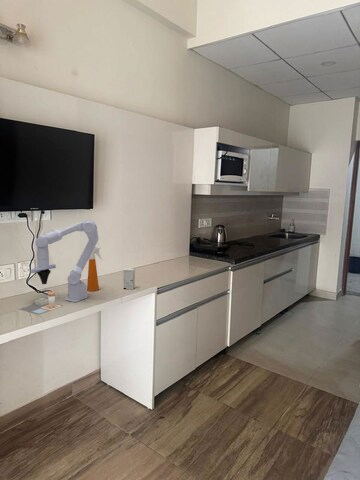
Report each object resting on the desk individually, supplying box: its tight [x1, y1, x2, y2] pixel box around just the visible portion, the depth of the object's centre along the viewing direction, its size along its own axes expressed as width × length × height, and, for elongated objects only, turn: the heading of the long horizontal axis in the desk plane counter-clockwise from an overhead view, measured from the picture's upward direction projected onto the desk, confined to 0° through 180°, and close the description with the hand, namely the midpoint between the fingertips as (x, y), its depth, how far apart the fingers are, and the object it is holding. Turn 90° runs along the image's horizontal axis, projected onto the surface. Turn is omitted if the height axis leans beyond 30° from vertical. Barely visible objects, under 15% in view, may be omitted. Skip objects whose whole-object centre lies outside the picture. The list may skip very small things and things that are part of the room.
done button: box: [37, 297, 47, 302], centre depth 179 cm, size 3×3×2 cm
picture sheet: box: [18, 303, 64, 315], centre depth 174 cm, size 15×15×1 cm
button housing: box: [34, 298, 48, 306], centre depth 179 cm, size 5×5×2 cm
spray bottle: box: [86, 246, 104, 292], centre depth 203 cm, size 7×11×26 cm, turn 71°
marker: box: [47, 291, 56, 308], centre depth 174 cm, size 3×3×8 cm
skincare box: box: [122, 267, 136, 290], centre depth 208 cm, size 6×4×12 cm
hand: (44, 283), depth 183 cm, fingers closed
